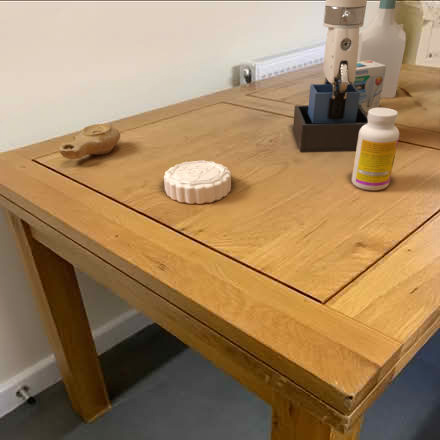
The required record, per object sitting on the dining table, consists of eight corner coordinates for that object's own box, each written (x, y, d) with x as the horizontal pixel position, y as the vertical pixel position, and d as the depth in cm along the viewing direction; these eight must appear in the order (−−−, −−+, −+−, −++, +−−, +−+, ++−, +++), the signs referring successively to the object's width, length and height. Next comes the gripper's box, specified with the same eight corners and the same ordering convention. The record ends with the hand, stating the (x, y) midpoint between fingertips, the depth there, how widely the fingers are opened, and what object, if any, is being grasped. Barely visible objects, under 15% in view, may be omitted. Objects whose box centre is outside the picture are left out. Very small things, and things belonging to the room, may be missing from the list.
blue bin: (348, 112, 103) (352, 83, 99) (355, 122, 97) (360, 92, 94) (307, 113, 103) (310, 84, 99) (312, 123, 98) (315, 93, 94)
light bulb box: (344, 117, 115) (351, 70, 109) (329, 109, 120) (334, 64, 114) (379, 110, 119) (387, 64, 112) (362, 104, 124) (370, 59, 117)
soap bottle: (355, 99, 127) (373, -22, 110) (350, 91, 133) (366, -25, 116) (396, 99, 126) (420, -23, 109) (389, 91, 132) (411, -26, 116)
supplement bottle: (394, 191, 83) (410, 116, 75) (357, 193, 82) (370, 118, 74) (380, 175, 88) (395, 104, 80) (346, 177, 88) (357, 106, 80)
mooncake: (188, 171, 91) (187, 153, 89) (242, 183, 86) (242, 164, 84) (151, 196, 83) (149, 177, 81) (209, 210, 78) (208, 190, 76)
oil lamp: (59, 168, 94) (53, 143, 91) (79, 142, 105) (75, 120, 102) (111, 168, 94) (107, 143, 91) (126, 142, 105) (122, 120, 102)
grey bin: (355, 129, 108) (359, 104, 105) (370, 150, 98) (374, 123, 94) (292, 130, 109) (294, 105, 105) (300, 152, 98) (302, 125, 95)
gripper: (375, 23, 82) (358, 126, 93) (354, 10, 95) (341, 100, 106) (332, 24, 82) (320, 126, 93) (317, 11, 96) (308, 101, 107)
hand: (331, 112), depth 100 cm, fingers closed on blue bin, 7 cm apart
